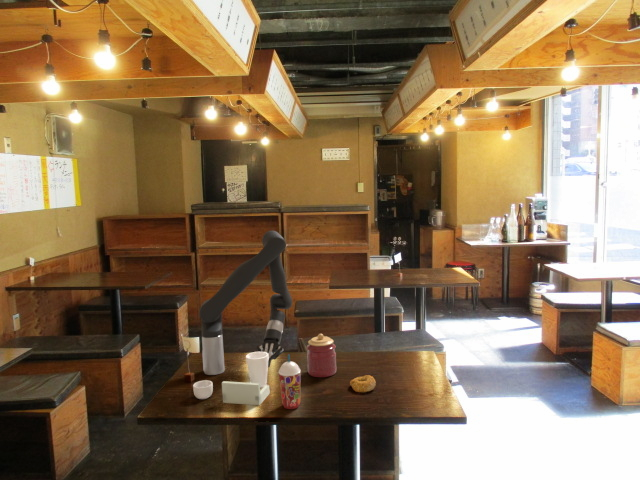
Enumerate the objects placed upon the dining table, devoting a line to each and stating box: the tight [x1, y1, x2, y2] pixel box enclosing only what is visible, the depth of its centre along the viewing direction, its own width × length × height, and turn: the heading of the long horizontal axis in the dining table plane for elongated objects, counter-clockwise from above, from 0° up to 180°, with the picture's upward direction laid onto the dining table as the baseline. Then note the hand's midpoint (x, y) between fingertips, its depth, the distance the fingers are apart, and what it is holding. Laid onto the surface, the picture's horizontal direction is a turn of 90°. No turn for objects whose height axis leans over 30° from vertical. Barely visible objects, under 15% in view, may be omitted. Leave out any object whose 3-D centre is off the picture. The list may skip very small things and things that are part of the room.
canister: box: [306, 333, 337, 378], centre depth 216 cm, size 13×13×18 cm
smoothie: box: [277, 354, 302, 410], centre depth 183 cm, size 8×8×20 cm
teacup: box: [192, 379, 214, 400], centre depth 197 cm, size 10×8×5 cm
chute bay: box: [221, 380, 271, 406], centre depth 193 cm, size 11×15×8 cm
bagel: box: [349, 374, 377, 393], centre depth 198 cm, size 10×11×5 cm
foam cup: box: [245, 351, 269, 389], centre depth 205 cm, size 10×9×13 cm
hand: (266, 367), depth 214 cm, fingers closed
